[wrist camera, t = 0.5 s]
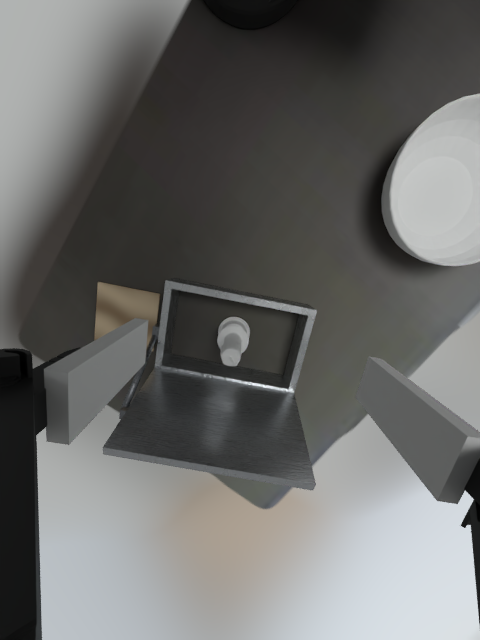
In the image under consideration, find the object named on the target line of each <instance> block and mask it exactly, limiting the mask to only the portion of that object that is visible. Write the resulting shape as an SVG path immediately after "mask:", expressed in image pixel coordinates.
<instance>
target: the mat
mask: <svg viewBox="0 0 480 640" xmlns="http://www.w3.org/2000/svg"><path fill="white" fill-rule="evenodd" d="M159 303H160V294H158V293H153V292H148V291H143V290H138V289H133V288H128V287H123V286H118V285H113V284H107V283H102V282H98V289H97V306H96V322H95V338H94V340H97V339H99V338H100V337H102V336H104V335H106V334H107V333H109V332H111V331H113V330H115V329H116V328H118V327H120V326H122V325H124V324H125V323H127V322H129V321H131V320H133V319H134V318H138V319H144V320H148V333H147V346H148V344H149V342H150V339H151V337H152V329H153V326H154V325H155V324H156V323H157V319H158V311H159ZM147 346H146V349H147ZM152 351H154V347H153V349H152Z"/></svg>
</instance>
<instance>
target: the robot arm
mask: <svg viewBox="0 0 480 640" xmlns="http://www.w3.org/2000/svg"><path fill="white" fill-rule="evenodd" d="M204 1H205V3H206V4H207V5H208V7H209V8H210V9H211V10H212V11H213V12H214V13H215V14H216V15H217V16H218V17H219V18H221V19H222V20H223V21H225V22H227V23H229V24H231V25H233V26H236V27H239V28H246V29H255V28H261V27H265V26H268V25H270V24H272V23H274V22H276V21H277V20H279V19H280V18H282V17H283V16H284V15H285V14H286V13H288V12H289V11H290V9H291V8H292V7H293V6H294V5H295V3H296V2H297V0H204ZM147 333H148V320H144V319H138V318H134V319H133V320H131V321H129V322H127V323H125V324H124V325H122V326H120V327H118V328H116V329H115V330H113V331H111V332H109V333H107V334H106V335H104V336H102V337H100V338H99V339H97V340H95V341H93V342H91V343H90V344H88V345H86V346H84V347H82V348H76V349H73V350H69V351H66V352H64V353H62V354H60V355H58V356H57V357H55V358H53V359H51V360H49V362H48V361H47V362H45V363H43V364H41V365H40V366H38V367H36V368H34V369H33V368H32V354H31V353H30V351H27V350H24V349H0V640H42V631H41V629H42V628H41V594H40V593H41V591H40V556H39V555H40V554H39V520H38V519H39V518H38V517H39V516H38V483H37V482H38V481H37V480H38V479H37V443H36V435H37V434H38V433H39V432H41V431H42V430H43V429H44V428H45V427H46V436H47V441H48V442H54V443H61V444H68V445H69V444H70V443H71V442H72V441H73V440H74V439H75V438H76V436H78V435H79V433H80V432H81V431H82V430H83V429H84V428H85V427H86V426H87V425H88V424H89V423H90V422H91V421H92V420H93V419H94V418H95V416H96V415H97V414H98V413H99V412H100V411H101V410H102V409H103V408H104V407H105V406H106V405H107V404H108V403H109V402H110V400H111V399H112V398H113V397H114V396H115V395H116V394H117V393H118V392H119V391H120V390H121V389H122V388H123V387H124V386H125V384H126V383H127V382H128V381H129V380H130V379H131V378H132V377H133V376H134V375H135V374H136V373H137V372H138V371H139V369H140V368H141V367H142V366H143V365H144V364H145V360H146V346H147ZM356 399H357V400H358V401H359V402H360V404H361V405H362V406H363V407H364V409H365V410H366V411H367V413H368V414H369V415H370V416H371V418H372V419H373V420H374V421H375V423H376V424H377V425H378V426H379V428H380V429H381V430H382V432H383V433H384V434H385V435H386V437H387V438H388V439H389V440H390V441H391V443H392V444H393V445H394V447H395V448H396V449H397V451H398V452H399V453H400V454H401V456H402V457H403V458H404V459H405V461H406V462H407V463H408V465H409V466H410V467H411V468H412V470H413V471H414V472H415V473H416V475H417V476H418V477H419V478H420V480H421V481H422V482H423V483H424V485H425V486H426V487H427V489H428V490H429V491H430V492H431V493H432V495H433V496H434V498H435V499H436V500H437V501H442V502H448V503H456V504H458V502H459V500H460V498H461V497H462V495H463V493H464V491H465V490H466V491H467V492H468V493H469V494H470V496H471V497H473V499H474V501H473V503H472V505H471V506H470V509H469V510H468V512H467V514H466V516H465V518H464V520H463V522H462V524H461V526H462V527H464V528H465V527H466V525H471V530H472V531H471V532H472V542H473V554H474V565H475V577H476V589H477V600H478V611H479V623H480V432H479V431H478V430H476V429H475V428H474V427H472V426H471V425H470V424H468V423H467V422H465V421H464V420H463V419H461V418H460V417H459V416H457V415H456V414H455V413H453V412H452V411H451V410H449V409H448V408H447V407H445V406H444V405H442V404H441V403H440V402H439V401H437V400H436V399H435V398H433V397H432V396H431V395H429V394H428V393H427V392H425V391H424V390H422V389H421V388H420V387H419V386H417V385H416V384H415V383H413V382H412V381H410V380H409V379H408V378H406V377H405V376H404V375H402V374H401V373H400V372H398V371H397V370H396V369H394V368H393V367H392V366H390V365H389V364H388V363H386V362H385V361H384V360H382V359H380V358H374V357H368V360H367V363H366V366H365V369H364V372H363V375H362V378H361V382H360V385H359V388H358V391H357V394H356Z"/></svg>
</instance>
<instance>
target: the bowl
mask: <svg viewBox="0 0 480 640" xmlns="http://www.w3.org/2000/svg"><path fill="white" fill-rule="evenodd" d="M381 204H382V215H383V219H384V224H385V226H386V228H387V230H388V233H389V235H390V236H391V238H392V239H393V240H394V242H395V243H396V244H397V245H398V246H399V247H400V248H401V249H403V250H404V251H405V252H406V253H408V254H409V255H411V256H413V257H415V258H417V259H419V260H421V261H424V262H428V263H432V264H436V265H442V266H462V265H469V264H474V263H477V262H479V261H480V94H475V95H470V96H465V97H462V98H460V99H457V100H455V101H453V102H450V103H448V104H446V105H445V106H443V107H442V108H440V109H439V110H437V111H435V112H434V113H432V114H431V115H430V116H429V117H428V118H427V119H426V120H425V121H424V122H423V123H422V124H420V125H419V126H418V127H417V128H416V129H415V130H414V131H413V132H412V133H411V134H410V136H409V137H408V138H407V139H406V141H405V142H404V143H403V145H402V146H401V147H400V149H399V150H398V152H397V154H396V156H395V158H394V160H393V162H392V163H391V165H390V167H389V169H388V172H387V175H386V178H385V181H384V184H383V190H382V197H381Z"/></svg>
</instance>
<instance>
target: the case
mask: <svg viewBox="0 0 480 640" xmlns="http://www.w3.org/2000/svg"><path fill="white" fill-rule="evenodd" d="M180 290H181V291H186V292H191V293H196V294H201V295H206V296H212V297H217V298H222V299H227V300H232V301H237V302H242V303H247V304H252V305H257V306H262V307H267V308H273V309H278V310H283V311H288V312H293V313H298V314H299V317H298V321H297V325H296V329H295V332H294V336H293V340H292V344H291V348H290V352H289V356H288V359H287V363H286V367H285V371H284V375H281V374H276V373H270V372H265V371H260V370H254V369H249V368H244V367H238V366H227V365H224V364H222V363H217V362H212V361H207V360H201V359H196V358H191V357H185V356H180V355H175V354H171V349H172V342H173V335H174V328H175V321H176V313H177V306H178V299H179V292H180ZM316 312H317V310H316V309H314V308H313V307H311V306H310V305H308V304H303V303H298V302H293V301H288V300H283V299H278V298H273V297H268V296H263V295H258V294H253V293H248V292H243V291H238V290H233V289H228V288H223V287H218V286H212V285H207V284H202V283H197V282H192V281H187V280H182V279H177V278H173V279H169V280H165V288H164V296H163V304H162V312H161V320H160V323H156V324H155V325H154V326H153V329H152V337H151V339H150V342H149V344H148V346H147V349H146V360H145V364H144V365H143V366H142V367H141V368H140V369H139V371H138V372H137V373H136V374H135V376H134V379H133V381H132V383H131V386H130V388H129V390H128V393H127V395H126V397H125V399H124V402H123V404H122V406H121V409H120V419H121V420H120V422H119V423H118V425H117V427H116V428H115V430H114V431H113V433H112V434H111V436H110V437H109V439H108V440H107V442H106V443H105V445H104V447H103V454H105V455H111V456H116V457H122V458H129V459H134V460H140V461H146V462H151V463H157V464H163V465H169V466H175V467H180V468H186V469H192V470H198V471H203V472H209V473H215V474H221V475H226V476H232V477H238V478H244V479H250V480H255V481H261V482H267V483H273V484H279V485H284V486H290V487H296V488H302V489H308V490H313V489H314V487H315V485H316V483H315V479H314V475H313V471H312V466H311V462H310V458H309V453H308V449H307V445H306V441H305V437H304V432H303V428H302V424H301V420H300V416H299V411H298V407H297V403H296V399H295V395H294V392H295V388H296V385H297V381H298V377H299V374H300V370H301V367H302V363H303V359H304V356H305V352H306V348H307V345H308V341H309V338H310V334H311V330H312V327H313V323H314V319H315V316H316ZM156 340H158V344H157V352H156V360H155V368H154V369H153V371H152V372H151V374H150V375H149V377H148V378H147V380H146V381H145V383H144V385H143V386H142V388H141V389H140V391H139V392H138V394H137V395H136V397H135V398H134V400H133V402H132V403H131V405H130V402H131V400H132V398H133V395H134V393H135V390H136V388H137V386H138V383H139V381H140V378H141V376H142V373H143V371H144V369H145V366H146V364H147V361H148V359H149V357H150V354H151V352H152V349H153V347H154V345H155V342H156Z"/></svg>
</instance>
